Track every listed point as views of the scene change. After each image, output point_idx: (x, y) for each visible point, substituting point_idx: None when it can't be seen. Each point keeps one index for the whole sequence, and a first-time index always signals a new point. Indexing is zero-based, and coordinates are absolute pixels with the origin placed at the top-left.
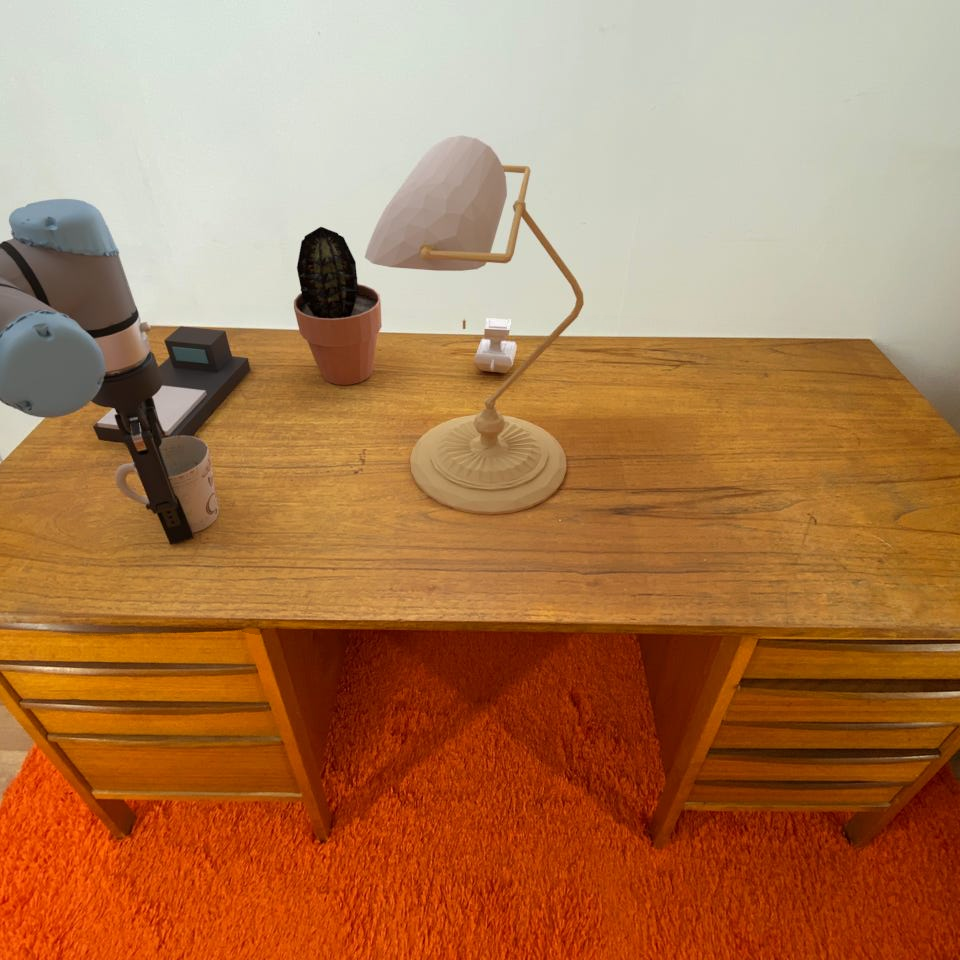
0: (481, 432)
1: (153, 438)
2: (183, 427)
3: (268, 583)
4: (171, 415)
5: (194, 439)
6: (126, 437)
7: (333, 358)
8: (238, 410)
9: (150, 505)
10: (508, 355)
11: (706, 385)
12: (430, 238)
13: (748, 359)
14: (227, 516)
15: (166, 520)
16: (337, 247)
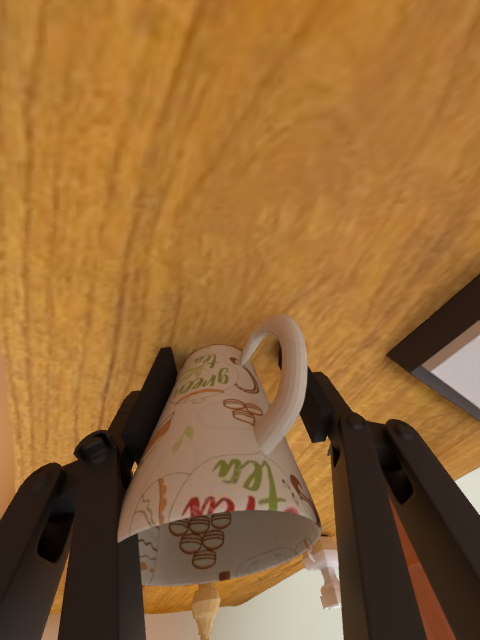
0: (196, 598)
1: (341, 515)
2: (423, 382)
3: (67, 436)
4: (469, 376)
5: (278, 554)
6: None
7: (403, 529)
8: (413, 411)
9: (79, 459)
10: (311, 569)
11: (235, 583)
12: None
13: (248, 590)
14: None
15: (118, 413)
16: None
